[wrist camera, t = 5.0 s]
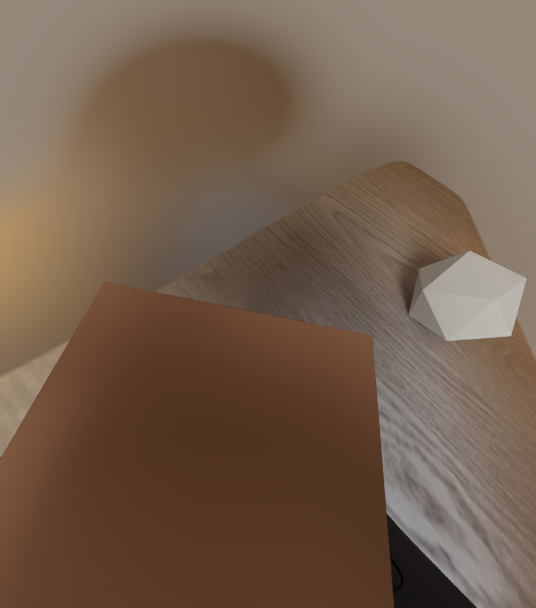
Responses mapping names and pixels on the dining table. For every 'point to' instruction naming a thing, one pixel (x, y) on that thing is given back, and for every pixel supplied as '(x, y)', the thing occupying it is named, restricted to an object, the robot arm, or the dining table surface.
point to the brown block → (197, 465)
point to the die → (467, 298)
